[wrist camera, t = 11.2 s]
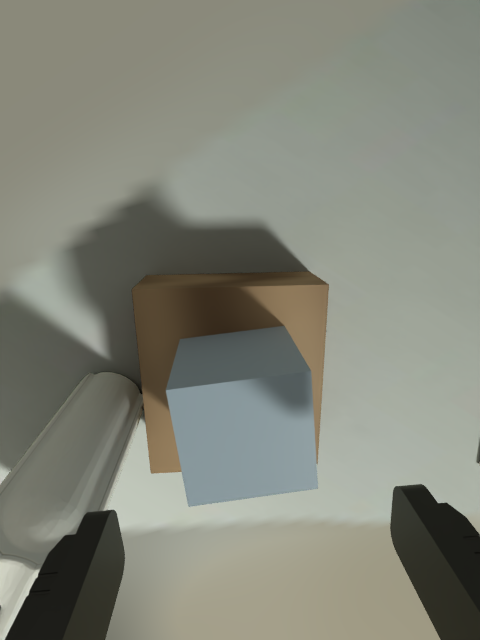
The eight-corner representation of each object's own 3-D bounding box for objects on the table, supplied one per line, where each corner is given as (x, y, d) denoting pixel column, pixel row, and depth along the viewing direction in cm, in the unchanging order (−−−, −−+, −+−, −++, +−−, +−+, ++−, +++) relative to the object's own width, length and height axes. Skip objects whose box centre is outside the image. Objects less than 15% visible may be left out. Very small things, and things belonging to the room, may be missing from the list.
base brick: (307, 270, 20) (328, 284, 17) (300, 422, 23) (317, 464, 20) (147, 273, 20) (131, 289, 16) (161, 429, 23) (150, 473, 19)
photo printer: (93, 511, 24) (-27, 805, 12) (29, 489, 23) (-166, 782, 11) (157, 387, 22) (86, 604, 10) (89, 357, 21) (-80, 555, 9)
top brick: (284, 325, 17) (311, 371, 12) (291, 416, 19) (317, 488, 14) (179, 339, 17) (165, 389, 12) (195, 429, 18) (188, 506, 14)
